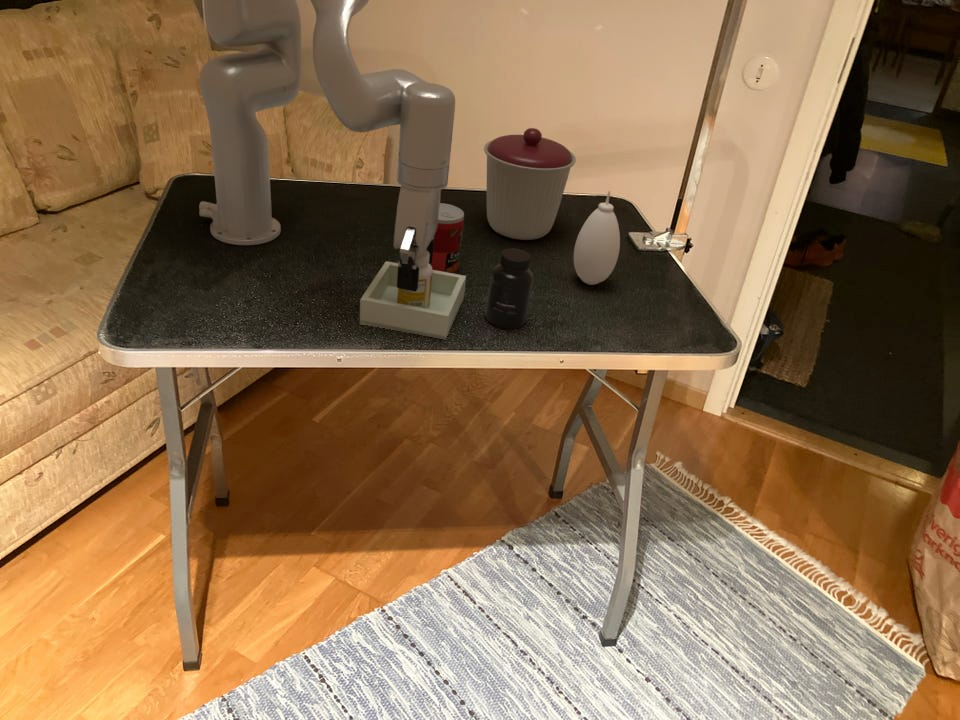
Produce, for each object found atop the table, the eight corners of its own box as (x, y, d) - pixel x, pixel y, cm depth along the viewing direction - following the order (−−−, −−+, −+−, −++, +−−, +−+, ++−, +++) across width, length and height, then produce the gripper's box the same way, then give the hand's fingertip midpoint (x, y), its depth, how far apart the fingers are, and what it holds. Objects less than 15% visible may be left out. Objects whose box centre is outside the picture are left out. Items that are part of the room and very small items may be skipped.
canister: (535, 257, 145) (553, 151, 133) (458, 229, 152) (468, 126, 140) (576, 230, 158) (595, 131, 147) (503, 205, 165) (516, 109, 154)
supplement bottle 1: (411, 294, 126) (415, 242, 121) (436, 306, 124) (441, 253, 118) (390, 305, 122) (392, 252, 117) (415, 318, 120) (418, 264, 114)
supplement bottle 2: (495, 332, 121) (504, 266, 114) (478, 311, 126) (486, 246, 119) (533, 327, 123) (544, 262, 117) (515, 306, 128) (525, 243, 122)
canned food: (453, 280, 134) (459, 223, 128) (410, 272, 135) (414, 215, 129) (462, 262, 140) (468, 207, 134) (421, 254, 141) (425, 199, 135)
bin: (359, 324, 118) (360, 299, 116) (384, 284, 130) (385, 261, 127) (445, 340, 117) (448, 316, 114) (463, 299, 128) (466, 276, 126)
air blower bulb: (561, 274, 141) (579, 182, 131) (598, 271, 143) (618, 181, 133) (580, 294, 135) (600, 200, 125) (618, 290, 137) (640, 198, 127)
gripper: (413, 150, 118) (406, 248, 127) (381, 188, 103) (376, 295, 113) (459, 158, 117) (449, 256, 127) (434, 198, 103) (424, 305, 112)
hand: (415, 275), depth 120 cm, fingers open, 9 cm apart
